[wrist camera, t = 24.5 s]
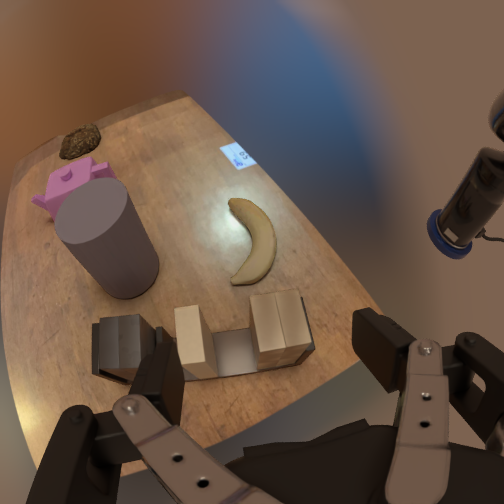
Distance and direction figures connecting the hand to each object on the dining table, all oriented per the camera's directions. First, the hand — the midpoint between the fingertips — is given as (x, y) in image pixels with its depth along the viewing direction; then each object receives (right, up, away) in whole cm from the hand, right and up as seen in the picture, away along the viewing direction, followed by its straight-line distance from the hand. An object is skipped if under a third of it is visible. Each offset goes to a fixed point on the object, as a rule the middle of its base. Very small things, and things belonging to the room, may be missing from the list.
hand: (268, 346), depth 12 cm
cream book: (-7, -9, +22) cm, 25 cm away
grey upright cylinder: (-20, +1, +30) cm, 36 cm away
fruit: (-2, +6, +33) cm, 34 cm away
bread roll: (-47, +32, +50) cm, 76 cm away
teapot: (-35, +13, +38) cm, 53 cm away
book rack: (-7, -10, +23) cm, 26 cm away
